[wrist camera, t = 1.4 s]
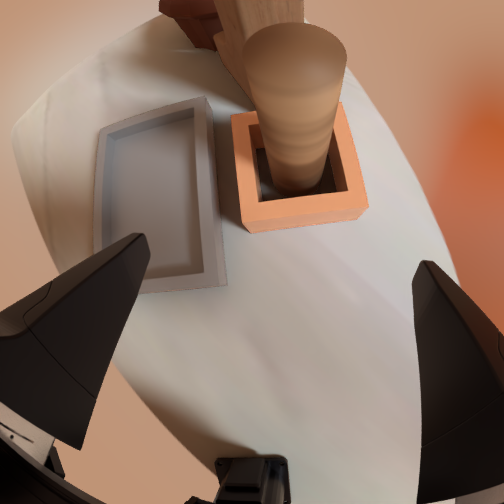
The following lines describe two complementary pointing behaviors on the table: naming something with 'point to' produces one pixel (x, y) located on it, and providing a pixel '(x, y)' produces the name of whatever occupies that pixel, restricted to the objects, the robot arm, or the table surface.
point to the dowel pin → (295, 99)
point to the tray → (163, 194)
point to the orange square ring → (306, 207)
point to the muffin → (195, 20)
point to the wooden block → (249, 29)
